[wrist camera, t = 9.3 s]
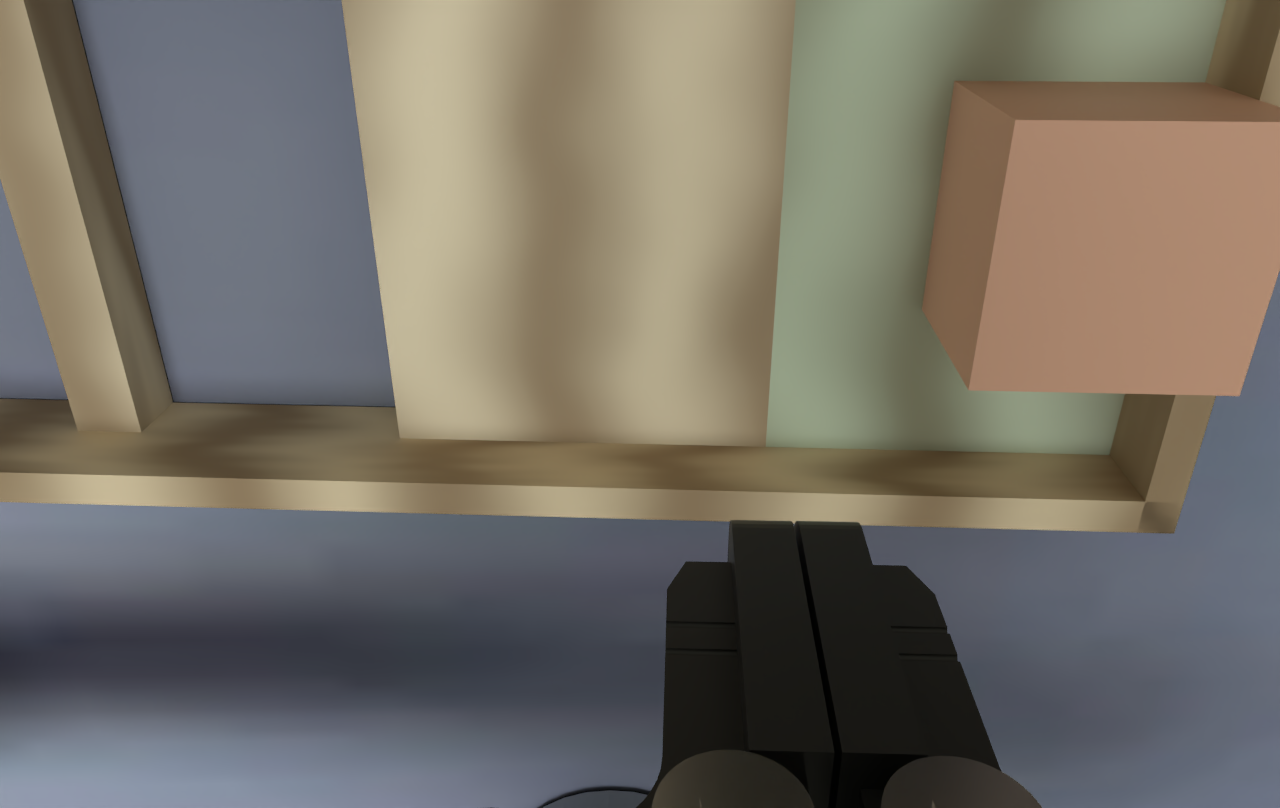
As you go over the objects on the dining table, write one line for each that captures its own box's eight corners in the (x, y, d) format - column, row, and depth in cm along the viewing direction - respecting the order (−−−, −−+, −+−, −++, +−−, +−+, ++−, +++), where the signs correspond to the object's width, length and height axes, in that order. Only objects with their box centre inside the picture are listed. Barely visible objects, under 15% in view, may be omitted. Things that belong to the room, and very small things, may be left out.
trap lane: (1259, -131, 23) (1379, -140, 19) (1110, 451, 30) (1174, 533, 26) (-337, -125, 25) (-537, -133, 21) (-113, 422, 32) (-229, 495, 28)
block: (1205, 82, 23) (1326, 122, 19) (1145, 313, 26) (1239, 396, 21) (954, 81, 23) (1015, 120, 19) (921, 309, 26) (968, 390, 22)
